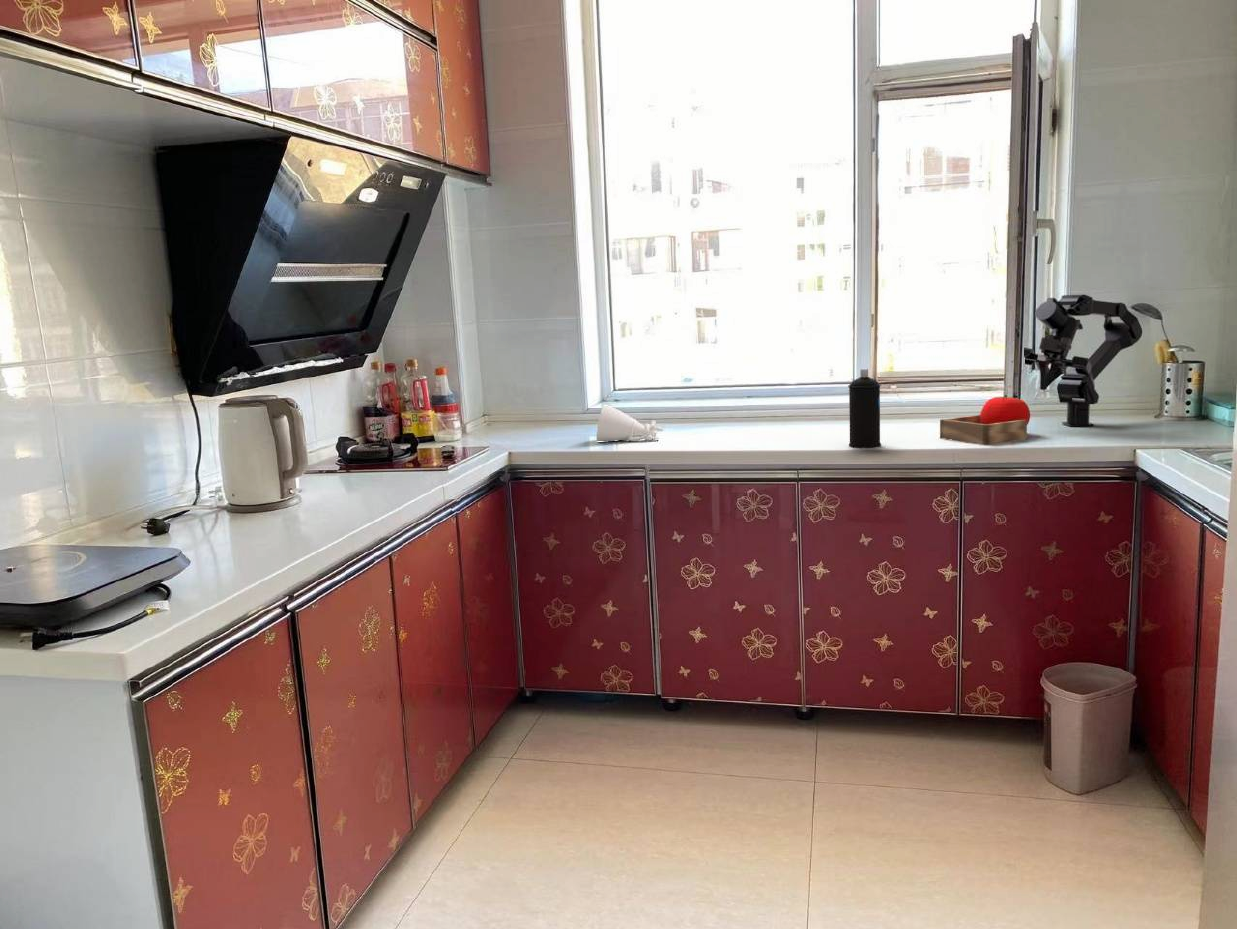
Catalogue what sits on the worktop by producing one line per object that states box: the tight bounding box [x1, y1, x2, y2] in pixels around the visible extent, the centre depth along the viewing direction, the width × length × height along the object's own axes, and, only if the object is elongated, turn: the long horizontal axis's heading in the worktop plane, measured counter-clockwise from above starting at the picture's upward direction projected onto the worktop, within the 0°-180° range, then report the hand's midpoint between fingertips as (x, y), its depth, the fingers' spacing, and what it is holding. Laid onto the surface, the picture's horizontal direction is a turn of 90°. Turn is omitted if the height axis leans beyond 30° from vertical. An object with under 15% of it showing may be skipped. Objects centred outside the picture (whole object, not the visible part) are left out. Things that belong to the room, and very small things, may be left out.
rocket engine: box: [596, 403, 664, 442], centre depth 281 cm, size 12×12×18 cm
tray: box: [939, 414, 1028, 446], centre depth 253 cm, size 14×16×5 cm
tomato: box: [979, 394, 1031, 426], centre depth 256 cm, size 11×12×10 cm
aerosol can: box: [847, 368, 882, 449], centre depth 251 cm, size 8×8×20 cm
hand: (1042, 389), depth 259 cm, fingers closed
